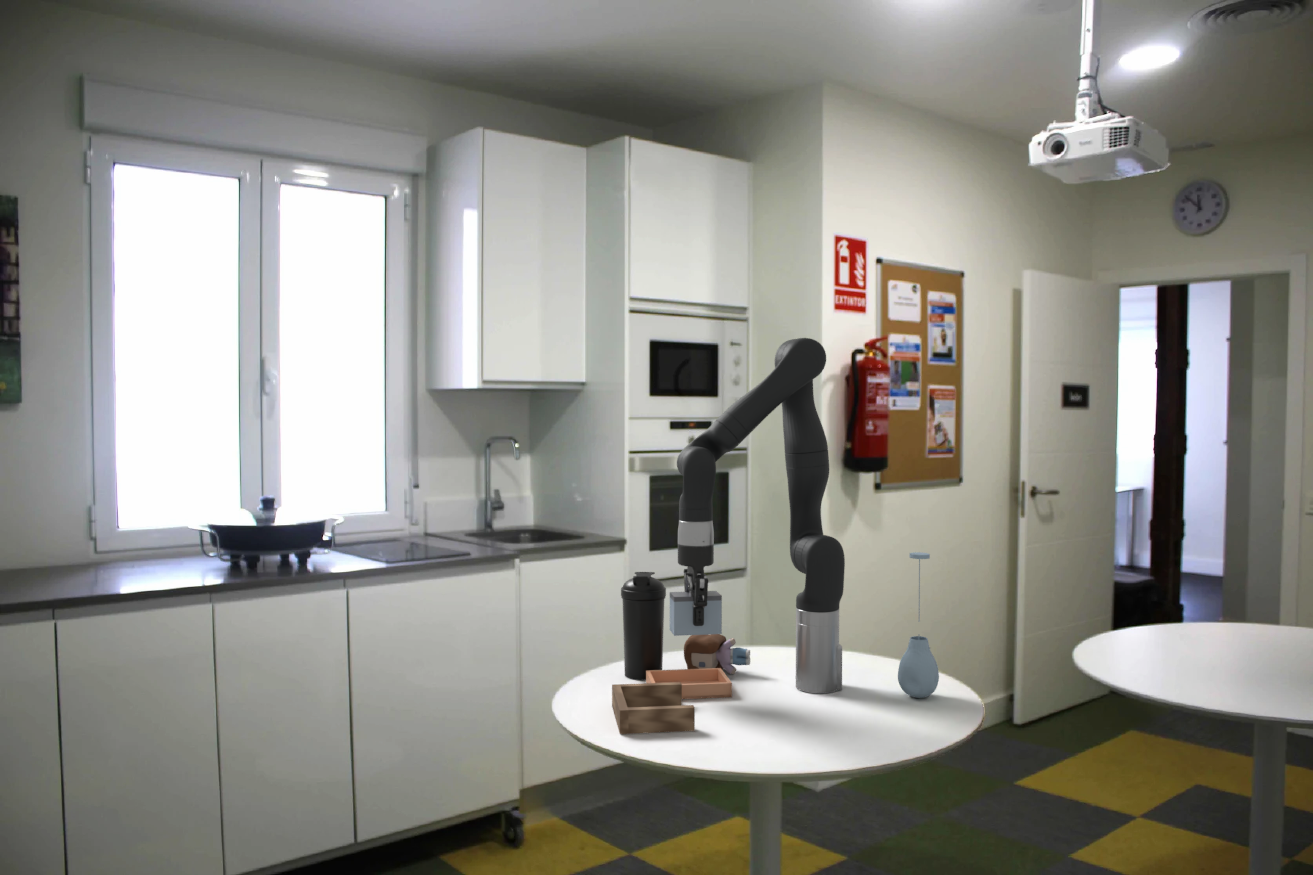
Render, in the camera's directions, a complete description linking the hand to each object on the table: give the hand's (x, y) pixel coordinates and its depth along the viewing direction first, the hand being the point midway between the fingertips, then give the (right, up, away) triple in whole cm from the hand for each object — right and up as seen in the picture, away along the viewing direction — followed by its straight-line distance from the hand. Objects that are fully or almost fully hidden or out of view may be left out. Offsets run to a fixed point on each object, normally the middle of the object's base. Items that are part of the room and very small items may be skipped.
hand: (695, 622), depth 203 cm
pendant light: (+47, -16, 0) cm, 49 cm away
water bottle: (-11, -15, +17) cm, 25 cm away
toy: (+6, -15, +19) cm, 25 cm away
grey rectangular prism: (0, -2, 0) cm, 2 cm away
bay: (-9, -16, -14) cm, 23 cm away
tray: (-1, -15, +4) cm, 16 cm away
